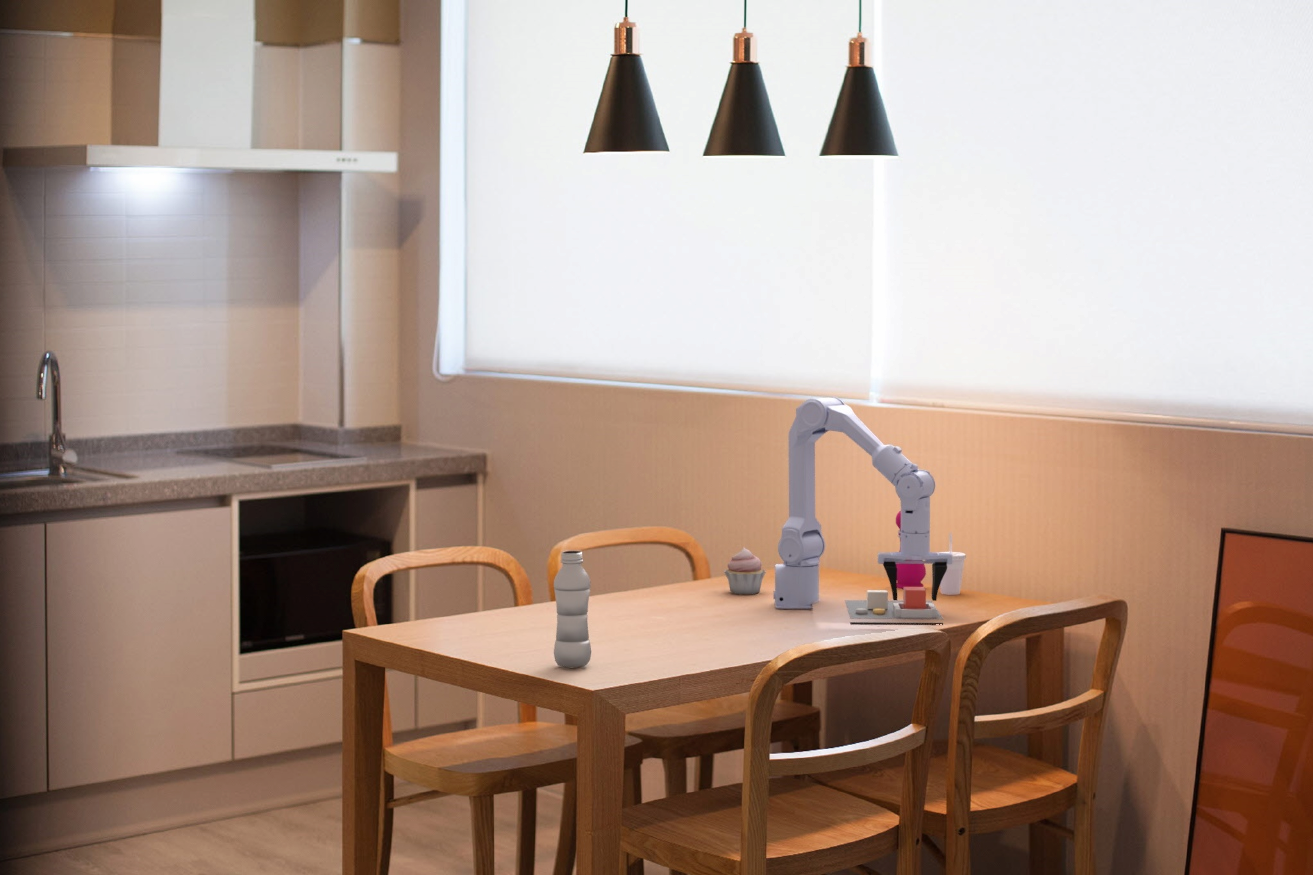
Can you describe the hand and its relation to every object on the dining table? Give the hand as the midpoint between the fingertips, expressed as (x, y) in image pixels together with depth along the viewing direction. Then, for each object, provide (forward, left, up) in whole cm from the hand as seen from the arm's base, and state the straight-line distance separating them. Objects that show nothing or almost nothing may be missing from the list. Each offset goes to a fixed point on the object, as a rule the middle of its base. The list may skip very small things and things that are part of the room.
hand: (914, 599), depth 306 cm
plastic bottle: (-63, -45, -4) cm, 78 cm away
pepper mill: (+2, +32, -4) cm, 32 cm away
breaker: (-7, +5, -3) cm, 9 cm away
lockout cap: (0, 0, -3) cm, 3 cm away
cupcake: (-34, +30, -4) cm, 45 cm away
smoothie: (+10, +24, -4) cm, 26 cm away
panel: (-4, +4, -4) cm, 7 cm away
